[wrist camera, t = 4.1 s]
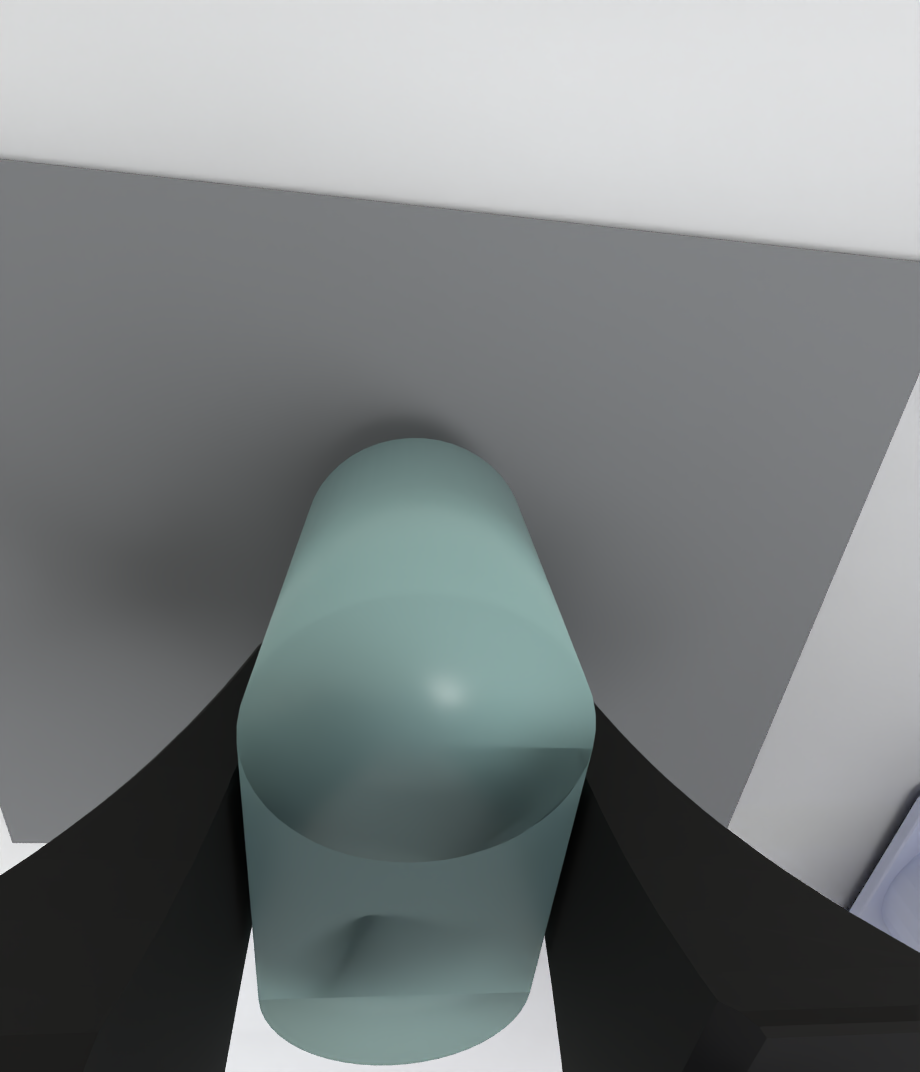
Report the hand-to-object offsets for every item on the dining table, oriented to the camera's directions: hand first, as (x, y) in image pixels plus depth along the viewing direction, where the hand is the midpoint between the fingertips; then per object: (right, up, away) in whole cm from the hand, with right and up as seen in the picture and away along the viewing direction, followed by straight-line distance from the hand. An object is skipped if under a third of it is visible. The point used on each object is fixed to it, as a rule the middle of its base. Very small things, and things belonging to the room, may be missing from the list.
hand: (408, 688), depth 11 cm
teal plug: (0, -1, +2) cm, 2 cm away
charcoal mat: (0, +1, +3) cm, 3 cm away
